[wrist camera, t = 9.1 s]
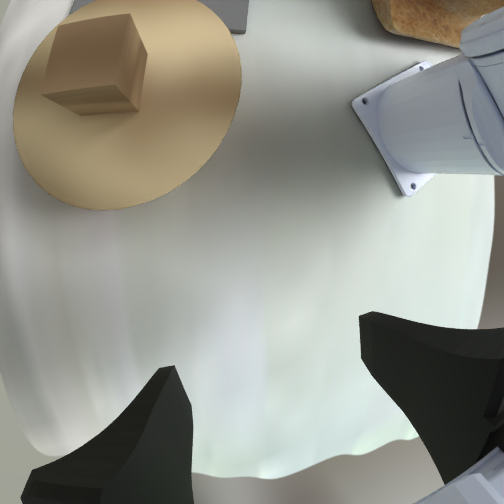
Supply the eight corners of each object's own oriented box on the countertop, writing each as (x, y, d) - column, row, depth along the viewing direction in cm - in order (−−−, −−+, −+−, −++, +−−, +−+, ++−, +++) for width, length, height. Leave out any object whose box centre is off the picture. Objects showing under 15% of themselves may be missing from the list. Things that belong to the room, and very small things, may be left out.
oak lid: (45, 14, 10) (11, -22, 5) (247, -3, 12) (262, -57, 7) (13, 210, 12) (-43, 222, 8) (231, 211, 14) (243, 223, 10)
